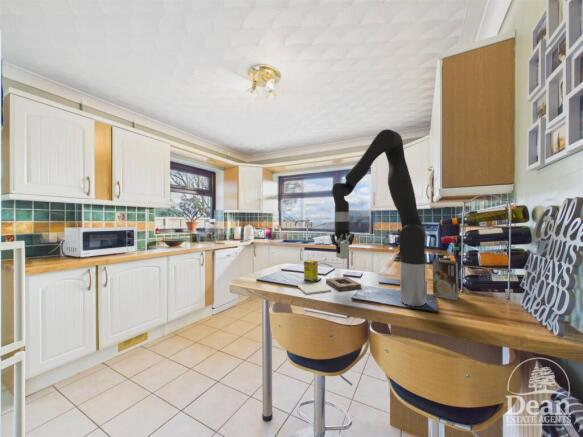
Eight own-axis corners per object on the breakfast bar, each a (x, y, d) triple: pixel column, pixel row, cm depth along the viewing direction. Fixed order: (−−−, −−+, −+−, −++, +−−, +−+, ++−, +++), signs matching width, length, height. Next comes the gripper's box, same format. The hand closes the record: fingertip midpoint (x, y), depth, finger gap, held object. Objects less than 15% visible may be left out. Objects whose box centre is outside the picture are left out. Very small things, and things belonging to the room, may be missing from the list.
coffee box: (458, 296, 104) (459, 261, 104) (456, 301, 100) (456, 263, 99) (435, 292, 111) (435, 258, 110) (432, 295, 106) (432, 260, 106)
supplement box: (312, 282, 129) (312, 262, 129) (303, 280, 133) (303, 261, 133) (318, 279, 134) (318, 260, 134) (309, 277, 138) (309, 259, 137)
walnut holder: (346, 280, 132) (346, 276, 132) (361, 288, 118) (361, 284, 118) (326, 282, 128) (326, 279, 128) (339, 290, 114) (339, 286, 114)
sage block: (342, 256, 126) (342, 241, 126) (348, 258, 120) (348, 243, 120) (336, 256, 125) (336, 242, 125) (341, 258, 119) (341, 243, 119)
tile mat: (319, 283, 126) (319, 282, 126) (330, 291, 114) (330, 289, 114) (297, 286, 122) (297, 284, 122) (306, 294, 110) (306, 292, 109)
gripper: (333, 221, 116) (333, 255, 117) (357, 220, 121) (358, 253, 121) (326, 220, 124) (326, 252, 124) (350, 220, 128) (350, 251, 128)
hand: (342, 252), depth 123 cm, fingers closed on sage block, 4 cm apart
